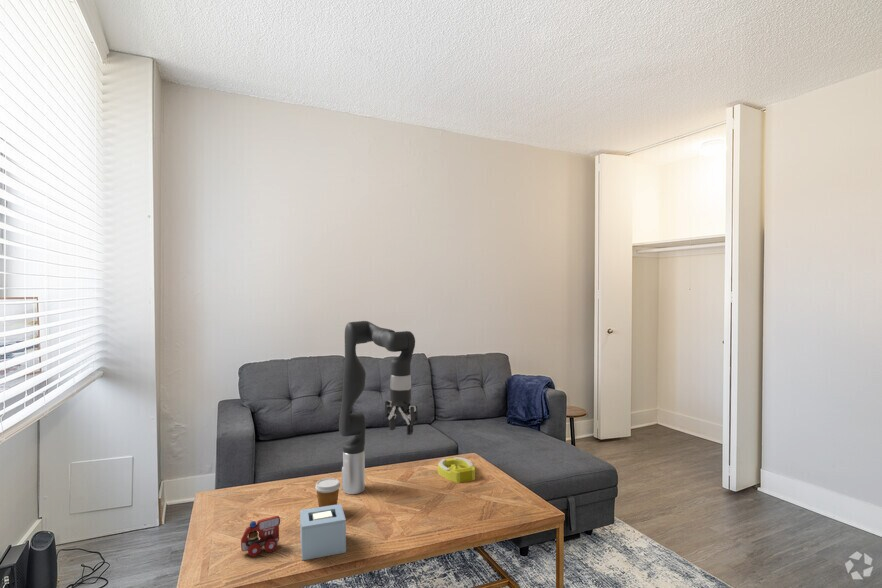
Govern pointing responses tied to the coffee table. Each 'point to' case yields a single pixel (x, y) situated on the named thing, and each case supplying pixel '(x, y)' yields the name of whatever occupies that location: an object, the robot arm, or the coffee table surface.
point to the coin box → (322, 532)
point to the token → (322, 515)
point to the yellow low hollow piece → (456, 469)
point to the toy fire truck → (261, 536)
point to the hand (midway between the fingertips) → (401, 432)
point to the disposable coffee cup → (327, 491)
